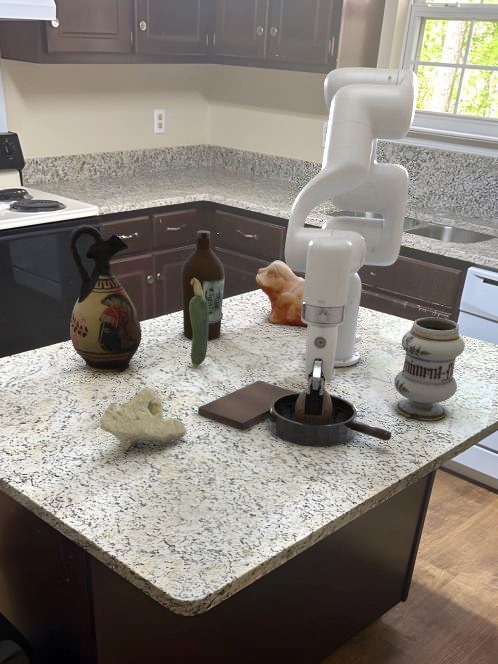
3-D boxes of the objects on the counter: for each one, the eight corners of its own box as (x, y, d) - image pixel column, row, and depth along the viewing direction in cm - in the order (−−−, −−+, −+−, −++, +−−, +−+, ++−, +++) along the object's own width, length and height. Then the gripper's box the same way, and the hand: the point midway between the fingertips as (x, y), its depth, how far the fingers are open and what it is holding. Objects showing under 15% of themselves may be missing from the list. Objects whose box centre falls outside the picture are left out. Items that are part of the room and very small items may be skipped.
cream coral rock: (170, 433, 138) (106, 386, 132) (193, 414, 133) (128, 364, 127) (150, 490, 128) (79, 443, 122) (173, 472, 123) (101, 421, 117)
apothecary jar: (385, 417, 143) (400, 327, 133) (395, 395, 152) (408, 311, 143) (448, 427, 139) (467, 336, 130) (453, 405, 149) (471, 318, 140)
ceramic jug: (133, 352, 171) (129, 218, 155) (148, 375, 158) (145, 231, 143) (61, 358, 166) (49, 220, 150) (71, 381, 154) (58, 233, 138)
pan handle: (351, 426, 133) (352, 417, 132) (392, 440, 128) (393, 430, 127) (346, 429, 131) (347, 420, 130) (387, 443, 127) (389, 434, 126)
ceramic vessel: (259, 308, 206) (262, 254, 198) (351, 318, 201) (357, 262, 193) (248, 322, 195) (251, 265, 187) (345, 332, 189) (352, 274, 182)
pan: (299, 404, 147) (301, 385, 145) (370, 426, 138) (372, 407, 136) (252, 428, 136) (253, 409, 134) (325, 454, 127) (327, 434, 125)
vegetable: (209, 365, 165) (211, 276, 155) (206, 371, 161) (208, 280, 151) (190, 364, 165) (190, 274, 155) (187, 370, 162) (187, 279, 151)
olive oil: (172, 333, 184) (172, 230, 171) (203, 326, 190) (204, 226, 177) (200, 344, 178) (202, 237, 165) (231, 335, 184) (235, 232, 171)
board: (258, 386, 154) (258, 380, 154) (301, 400, 149) (301, 393, 148) (198, 414, 141) (198, 407, 140) (242, 430, 135) (242, 423, 134)
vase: (333, 422, 139) (338, 379, 134) (325, 436, 133) (330, 391, 129) (298, 416, 141) (302, 373, 136) (289, 430, 135) (293, 386, 131)
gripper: (344, 328, 118) (333, 424, 126) (345, 302, 133) (335, 390, 141) (298, 324, 119) (290, 420, 127) (304, 299, 133) (296, 387, 142)
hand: (313, 404), depth 134 cm, fingers open, 9 cm apart
